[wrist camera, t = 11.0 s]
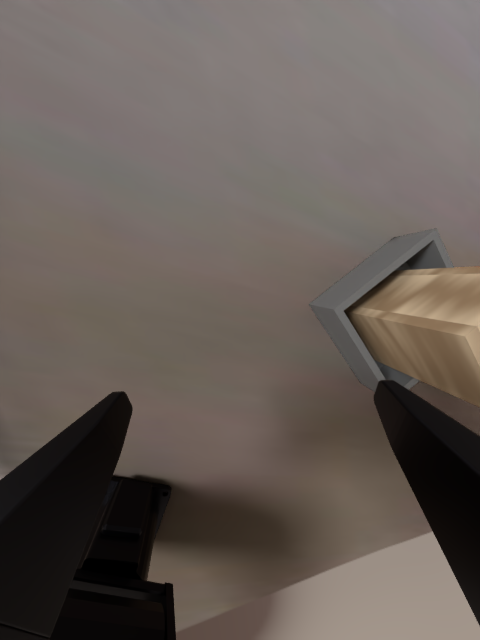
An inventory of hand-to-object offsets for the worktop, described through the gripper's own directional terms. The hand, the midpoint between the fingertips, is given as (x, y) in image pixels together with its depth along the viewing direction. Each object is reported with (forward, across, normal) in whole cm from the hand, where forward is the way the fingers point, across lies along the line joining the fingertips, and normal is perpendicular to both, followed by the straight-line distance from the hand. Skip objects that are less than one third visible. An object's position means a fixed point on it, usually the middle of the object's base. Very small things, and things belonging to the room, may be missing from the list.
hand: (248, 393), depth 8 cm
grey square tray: (+14, -12, +6) cm, 20 cm away
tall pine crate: (+14, -12, +6) cm, 19 cm away
